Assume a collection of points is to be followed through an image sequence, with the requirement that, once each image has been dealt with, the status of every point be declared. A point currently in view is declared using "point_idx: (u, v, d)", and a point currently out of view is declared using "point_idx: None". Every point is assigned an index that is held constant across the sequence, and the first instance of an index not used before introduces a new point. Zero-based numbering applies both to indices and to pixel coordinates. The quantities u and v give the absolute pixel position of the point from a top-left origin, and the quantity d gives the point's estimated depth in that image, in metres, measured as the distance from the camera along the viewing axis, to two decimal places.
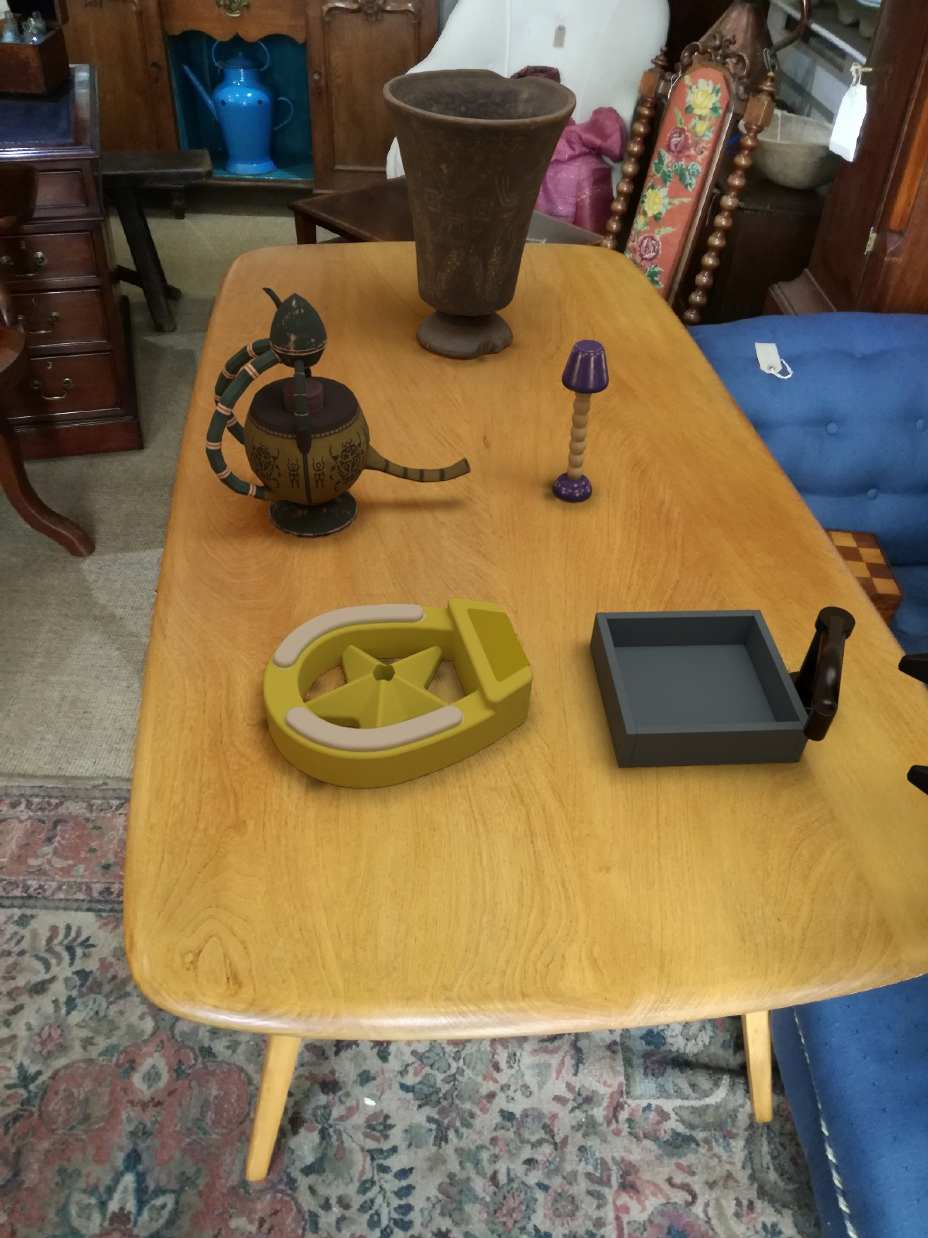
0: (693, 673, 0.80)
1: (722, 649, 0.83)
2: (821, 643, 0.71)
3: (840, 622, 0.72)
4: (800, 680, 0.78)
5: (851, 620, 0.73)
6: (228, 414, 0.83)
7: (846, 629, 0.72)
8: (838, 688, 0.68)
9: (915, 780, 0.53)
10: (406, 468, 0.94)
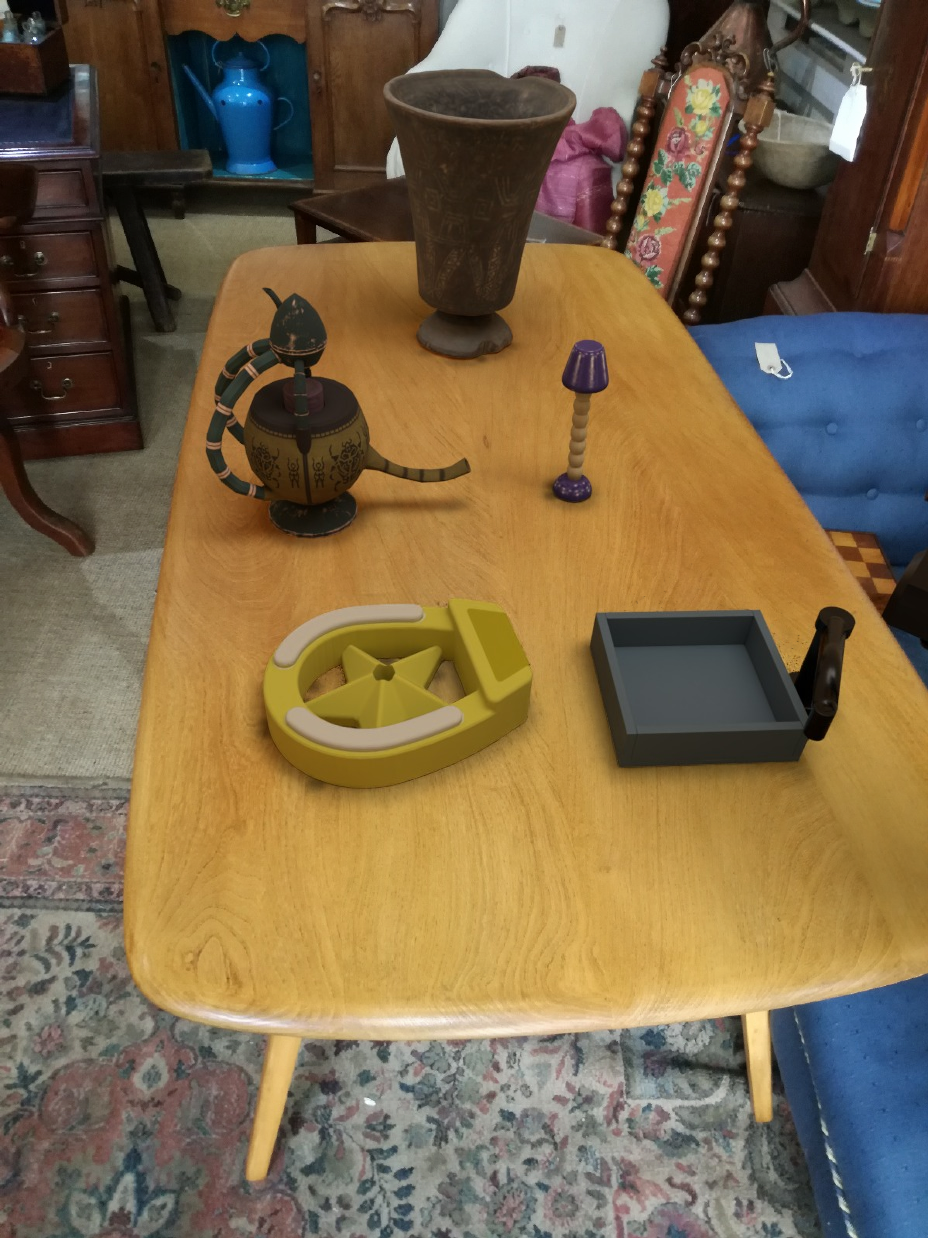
0: (693, 673, 0.80)
1: (722, 649, 0.83)
2: (821, 643, 0.71)
3: (840, 622, 0.72)
4: (800, 680, 0.78)
5: (851, 620, 0.73)
6: (228, 414, 0.83)
7: (846, 629, 0.72)
8: (838, 688, 0.68)
9: None
10: (406, 468, 0.94)
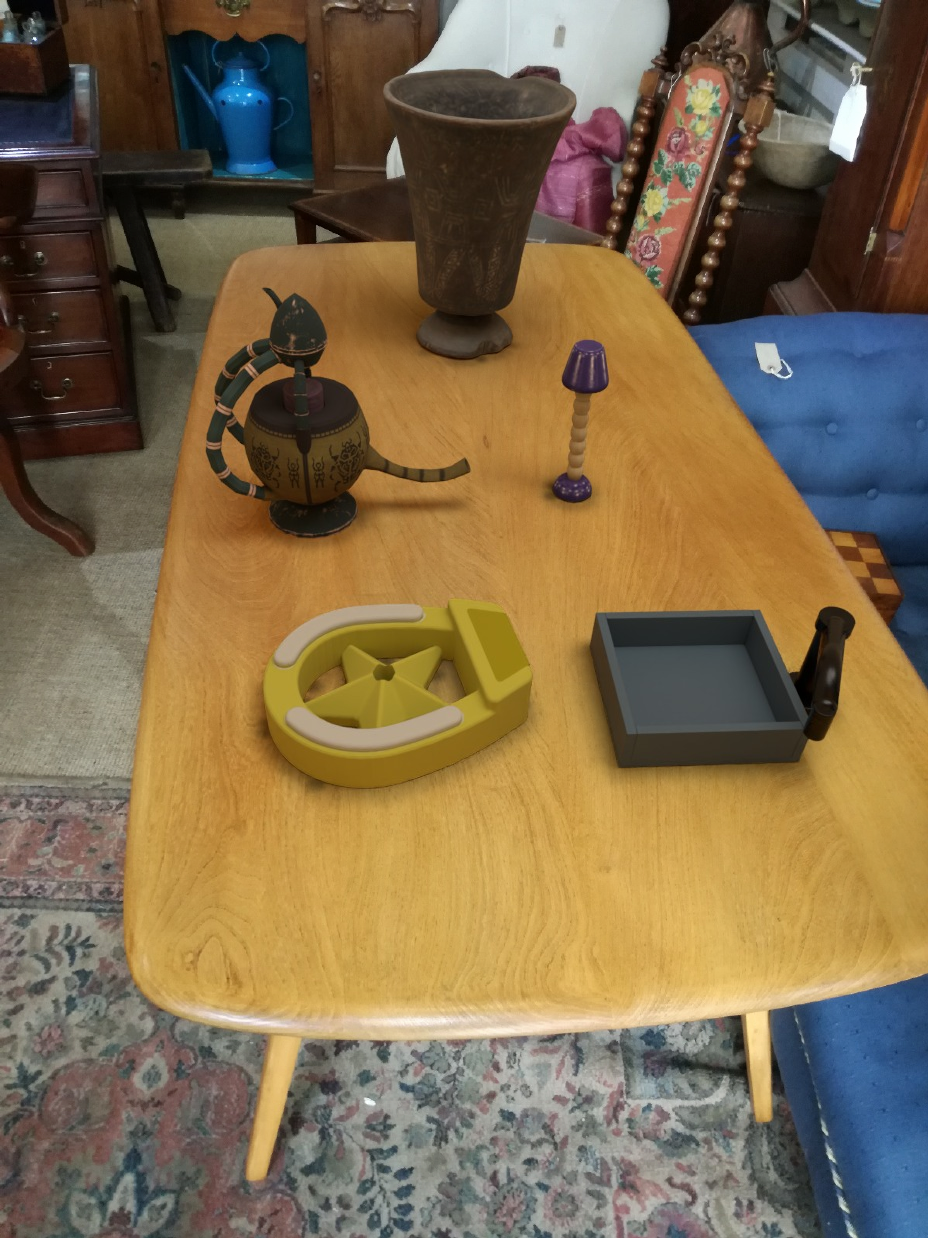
0: (693, 673, 0.80)
1: (722, 649, 0.83)
2: (821, 643, 0.71)
3: (840, 622, 0.72)
4: (800, 680, 0.78)
5: (851, 620, 0.73)
6: (228, 414, 0.83)
7: (846, 629, 0.72)
8: (838, 688, 0.68)
9: None
10: (406, 468, 0.94)
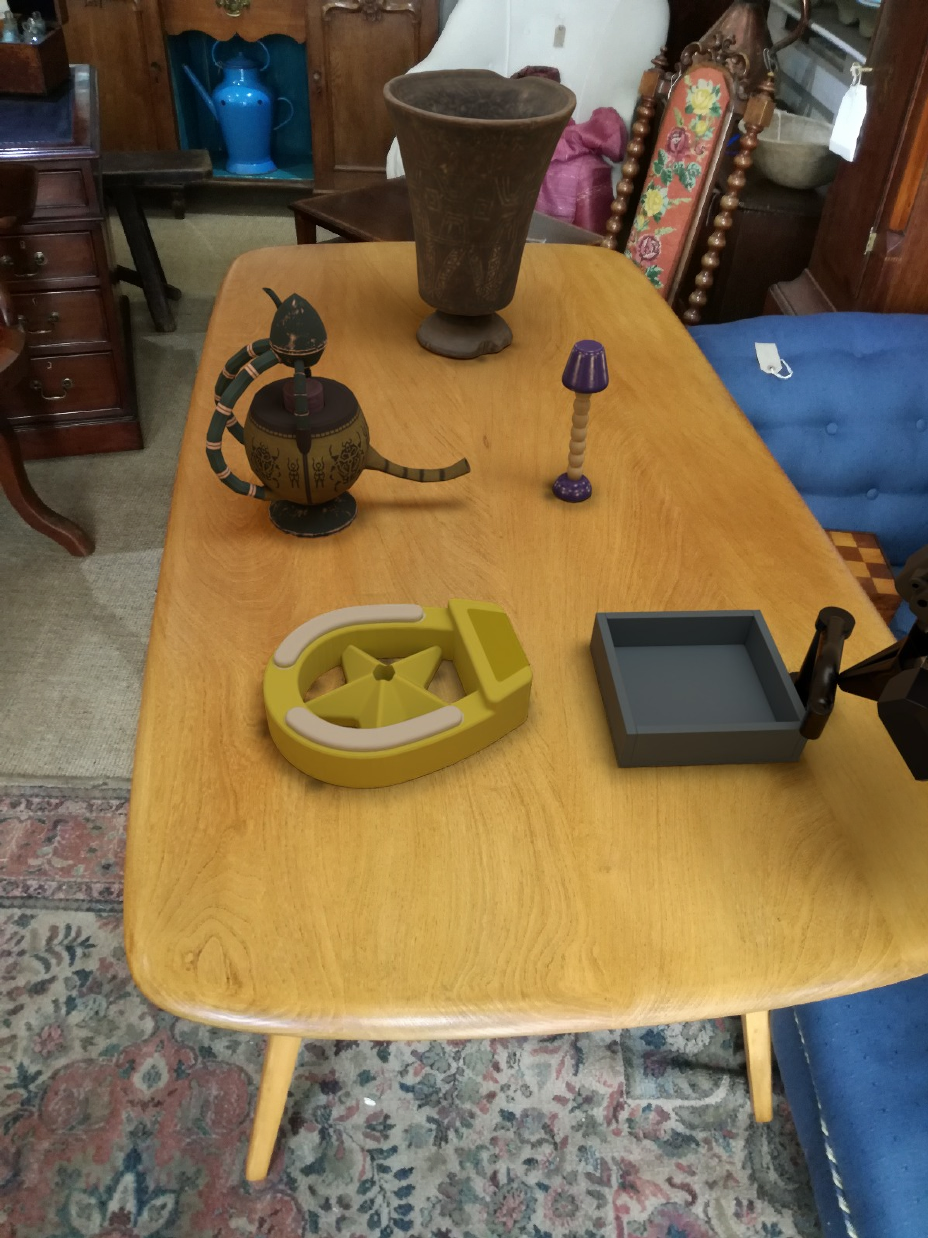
0: (693, 673, 0.80)
1: (722, 649, 0.83)
2: (820, 642, 0.71)
3: (839, 622, 0.72)
4: (800, 680, 0.78)
5: (851, 621, 0.73)
6: (228, 414, 0.83)
7: (846, 629, 0.72)
8: (835, 687, 0.68)
9: (844, 688, 0.68)
10: (406, 468, 0.94)
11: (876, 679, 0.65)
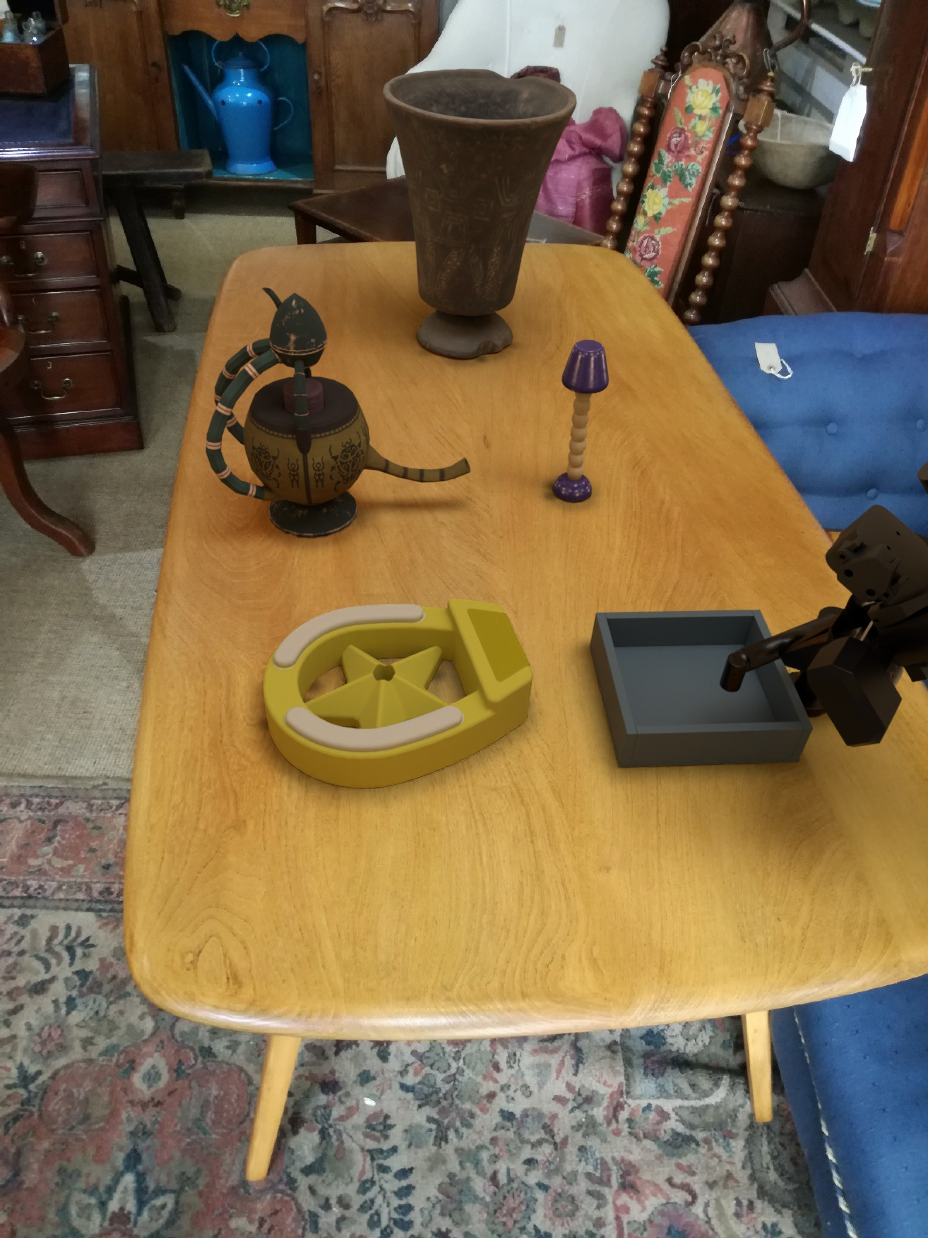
0: (693, 673, 0.80)
1: (722, 649, 0.83)
2: (798, 626, 0.73)
3: None
4: (800, 680, 0.78)
5: None
6: (228, 414, 0.83)
7: None
8: (767, 655, 0.70)
9: (787, 663, 0.70)
10: (406, 468, 0.94)
11: (815, 652, 0.67)
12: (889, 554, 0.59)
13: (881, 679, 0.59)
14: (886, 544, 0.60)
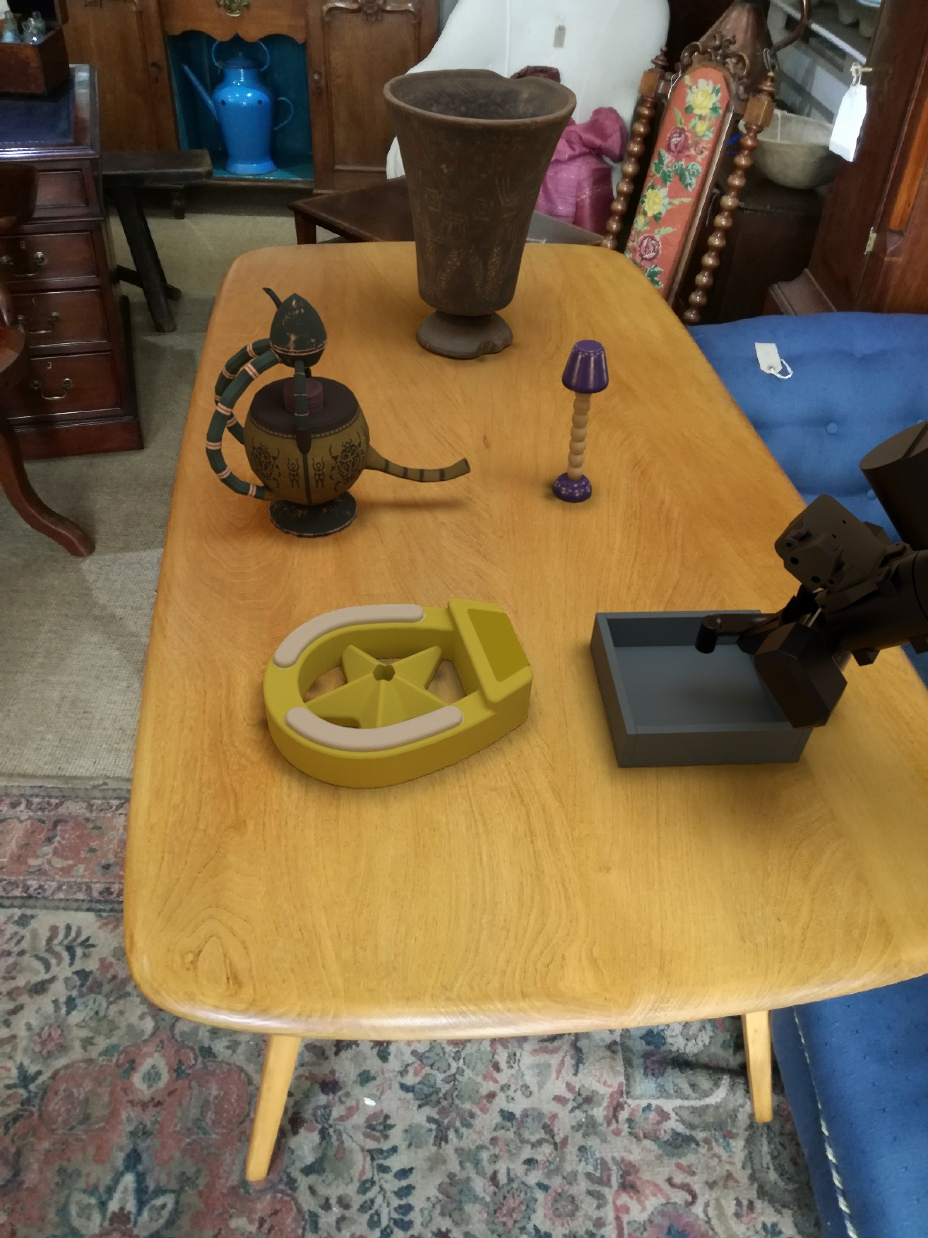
0: (693, 673, 0.80)
1: (722, 649, 0.83)
2: None
3: None
4: None
5: None
6: (228, 414, 0.83)
7: None
8: (742, 625, 0.72)
9: (743, 649, 0.72)
10: (406, 468, 0.94)
11: None
12: (834, 542, 0.61)
13: (826, 663, 0.61)
14: (832, 532, 0.62)
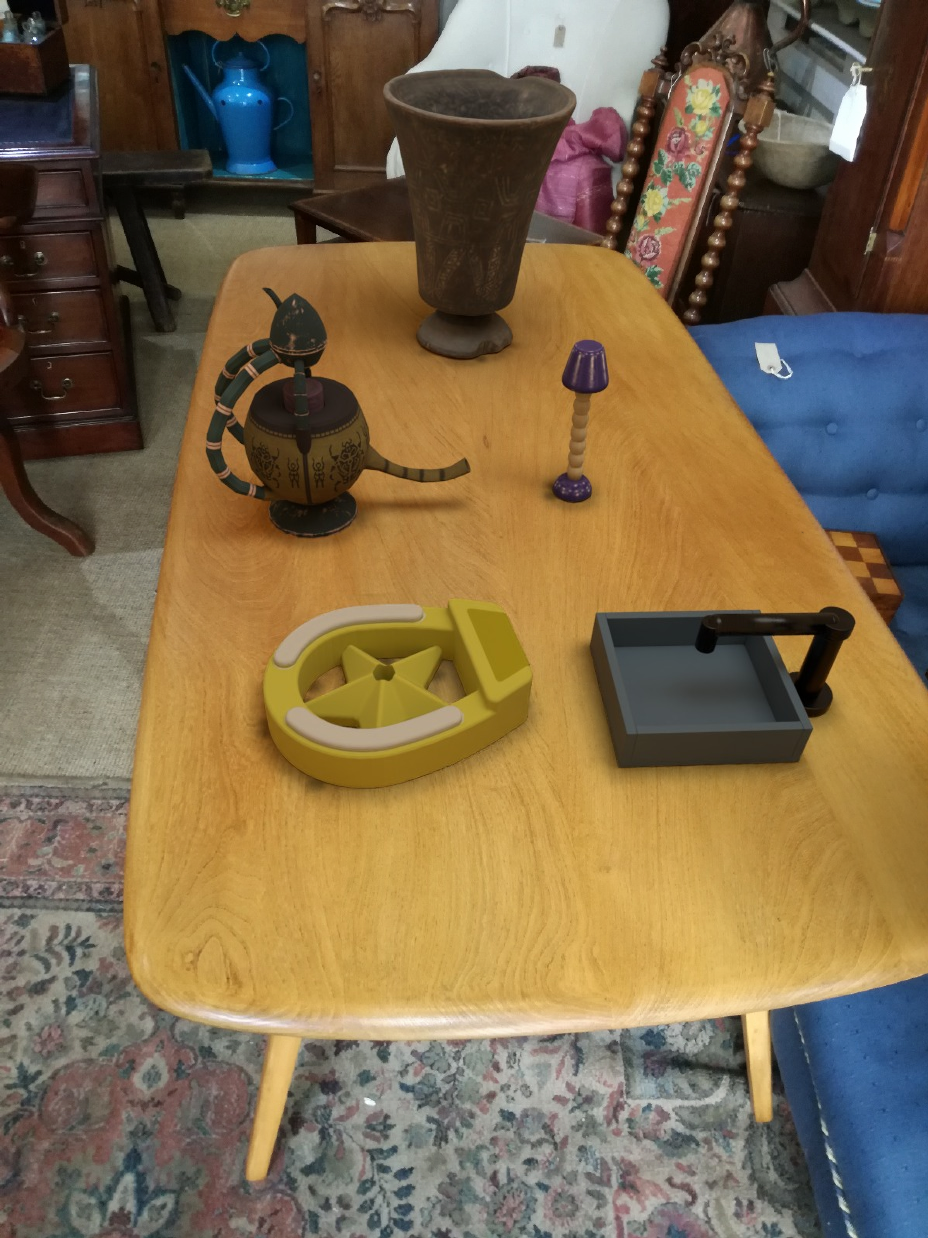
0: (693, 673, 0.80)
1: (722, 649, 0.83)
2: None
3: (829, 617, 0.73)
4: (800, 680, 0.78)
5: (843, 627, 0.72)
6: (228, 414, 0.83)
7: (827, 625, 0.73)
8: (742, 625, 0.72)
9: None
10: (406, 468, 0.94)
11: None
12: None
13: None
14: None
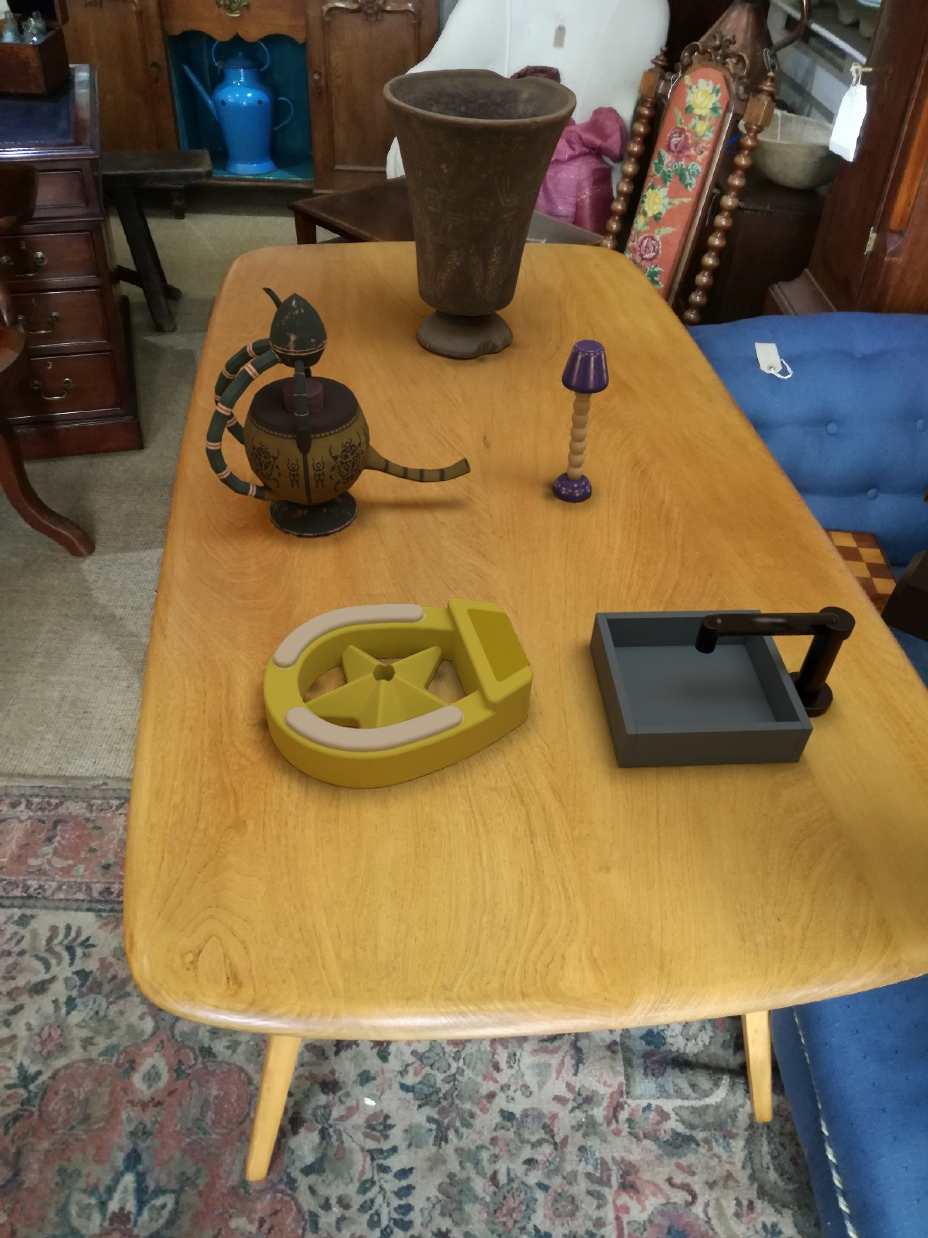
0: (693, 673, 0.80)
1: (722, 649, 0.83)
2: None
3: (829, 617, 0.73)
4: (800, 680, 0.78)
5: (843, 627, 0.72)
6: (228, 414, 0.83)
7: (827, 625, 0.73)
8: (742, 625, 0.72)
9: None
10: (406, 468, 0.94)
11: None
12: None
13: None
14: None
